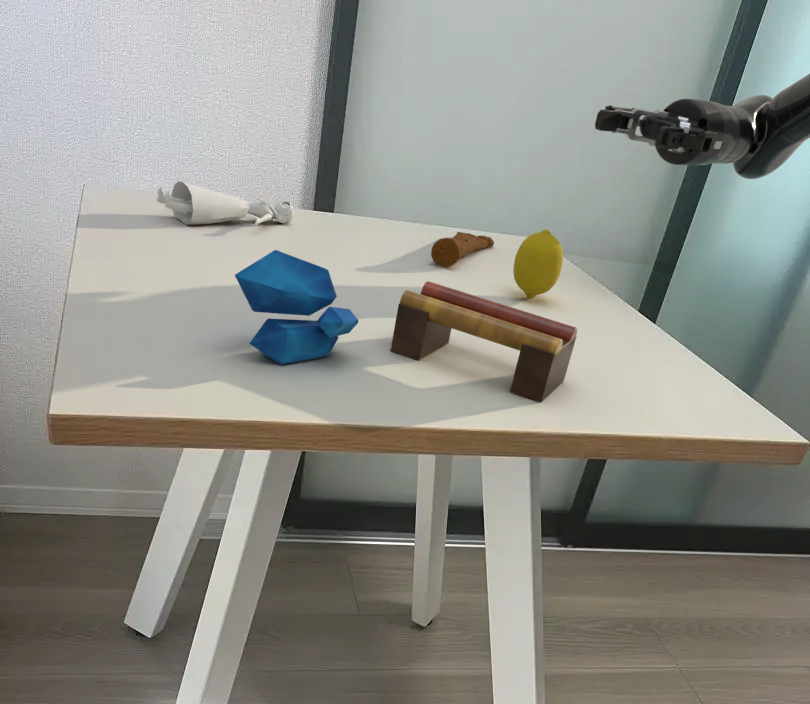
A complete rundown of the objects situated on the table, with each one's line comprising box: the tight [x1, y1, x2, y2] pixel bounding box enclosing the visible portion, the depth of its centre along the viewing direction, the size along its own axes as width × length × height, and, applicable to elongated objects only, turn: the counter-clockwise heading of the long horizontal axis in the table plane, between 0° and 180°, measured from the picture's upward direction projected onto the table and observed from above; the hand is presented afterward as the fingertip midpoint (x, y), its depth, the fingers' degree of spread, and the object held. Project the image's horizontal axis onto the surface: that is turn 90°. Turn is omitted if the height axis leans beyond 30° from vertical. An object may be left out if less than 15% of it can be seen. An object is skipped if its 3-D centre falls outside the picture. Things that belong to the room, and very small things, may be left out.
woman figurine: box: [156, 180, 295, 226], centre depth 111 cm, size 12×4×18 cm
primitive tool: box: [430, 231, 495, 268], centre depth 118 cm, size 19×6×4 cm, turn 165°
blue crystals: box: [234, 249, 359, 366], centre depth 75 cm, size 7×9×12 cm
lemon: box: [512, 229, 564, 299], centre depth 104 cm, size 6×6×8 cm
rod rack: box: [390, 280, 578, 403], centre depth 82 cm, size 15×7×6 cm, turn 64°
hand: (628, 128), depth 104 cm, fingers open, 8 cm apart
